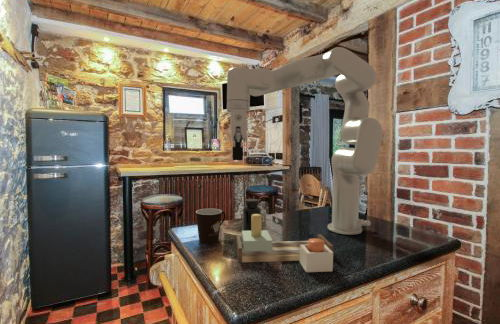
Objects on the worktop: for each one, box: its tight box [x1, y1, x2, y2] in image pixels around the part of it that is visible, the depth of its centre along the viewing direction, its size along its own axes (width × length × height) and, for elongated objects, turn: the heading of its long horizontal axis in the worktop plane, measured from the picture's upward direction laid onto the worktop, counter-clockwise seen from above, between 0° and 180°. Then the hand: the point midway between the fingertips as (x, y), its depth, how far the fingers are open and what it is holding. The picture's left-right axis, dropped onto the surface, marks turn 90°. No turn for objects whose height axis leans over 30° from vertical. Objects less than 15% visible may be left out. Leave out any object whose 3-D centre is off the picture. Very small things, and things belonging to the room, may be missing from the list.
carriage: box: [241, 214, 274, 252], centre depth 80 cm, size 8×9×9 cm
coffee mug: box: [195, 207, 226, 245], centre depth 92 cm, size 12×9×10 cm
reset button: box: [307, 238, 324, 252], centre depth 73 cm, size 4×4×3 cm
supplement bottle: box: [242, 198, 262, 231], centre depth 102 cm, size 7×7×12 cm
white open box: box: [299, 244, 334, 273], centre depth 73 cm, size 7×6×5 cm
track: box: [236, 234, 334, 263], centre depth 82 cm, size 27×10×4 cm, turn 96°
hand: (237, 159), depth 91 cm, fingers open, 9 cm apart
